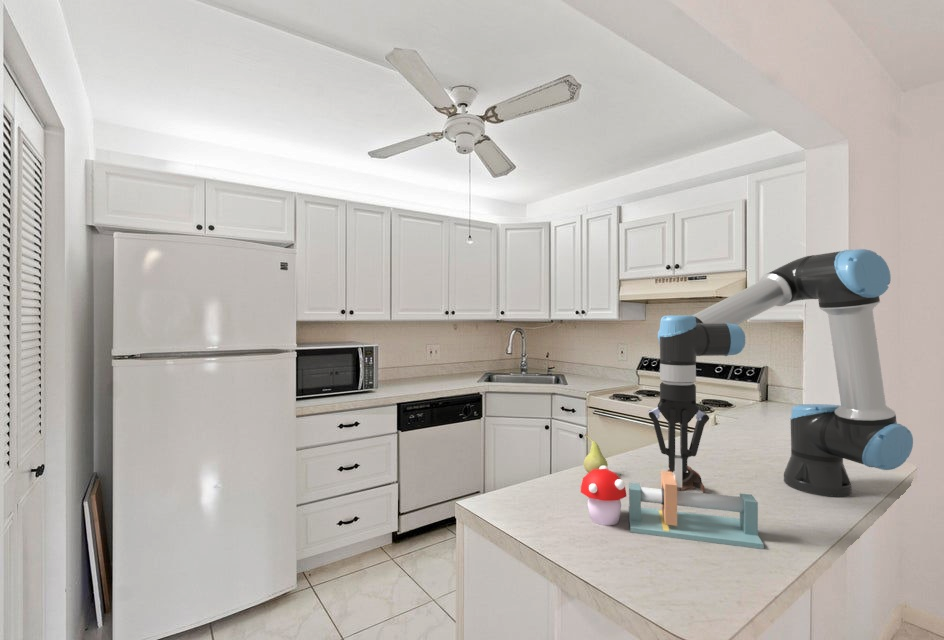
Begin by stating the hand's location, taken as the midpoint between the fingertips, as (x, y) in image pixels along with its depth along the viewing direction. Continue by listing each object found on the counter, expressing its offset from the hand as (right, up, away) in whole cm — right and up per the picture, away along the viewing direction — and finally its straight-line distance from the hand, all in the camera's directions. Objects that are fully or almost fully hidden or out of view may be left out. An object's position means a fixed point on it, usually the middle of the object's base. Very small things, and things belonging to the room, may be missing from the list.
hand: (677, 485), depth 104 cm
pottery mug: (+11, -10, +21) cm, 26 cm away
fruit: (-10, -10, +34) cm, 36 cm away
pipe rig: (+2, -10, -1) cm, 10 cm away
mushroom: (-16, -10, +4) cm, 19 cm away
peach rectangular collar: (-2, -8, +1) cm, 8 cm away
